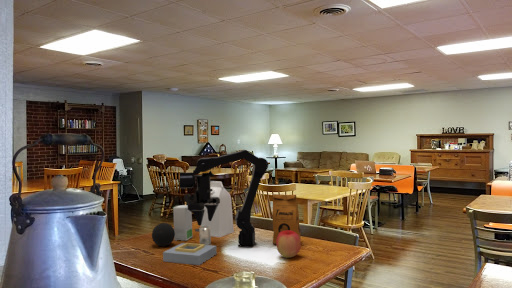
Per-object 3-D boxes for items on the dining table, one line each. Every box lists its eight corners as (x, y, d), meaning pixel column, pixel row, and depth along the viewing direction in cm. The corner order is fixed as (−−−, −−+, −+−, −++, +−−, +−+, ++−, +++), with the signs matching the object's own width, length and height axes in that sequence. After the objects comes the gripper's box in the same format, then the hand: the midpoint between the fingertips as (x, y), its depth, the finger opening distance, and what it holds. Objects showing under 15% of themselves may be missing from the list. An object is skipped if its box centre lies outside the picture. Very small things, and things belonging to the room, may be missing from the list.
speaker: (170, 241, 177) (169, 220, 177) (178, 246, 169) (177, 223, 168) (149, 245, 172) (148, 223, 172) (156, 250, 163) (155, 226, 163)
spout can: (212, 246, 166) (212, 226, 166) (207, 250, 162) (207, 228, 162) (198, 245, 169) (198, 225, 169) (193, 248, 164) (192, 227, 164)
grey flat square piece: (216, 254, 155) (216, 243, 155) (199, 265, 142) (199, 253, 142) (182, 251, 161) (182, 240, 161) (163, 261, 148) (162, 249, 148)
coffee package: (297, 248, 161) (296, 196, 161) (270, 245, 166) (268, 195, 165) (303, 242, 170) (302, 193, 170) (277, 240, 175) (275, 192, 175)
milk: (233, 232, 192) (232, 180, 192) (219, 237, 182) (218, 183, 182) (214, 229, 199) (213, 179, 198) (200, 234, 189) (199, 182, 189)
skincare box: (186, 241, 177) (185, 207, 177) (173, 240, 178) (172, 207, 178) (193, 236, 185) (192, 204, 185) (180, 236, 186) (179, 204, 186)
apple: (272, 255, 152) (271, 230, 152) (294, 252, 155) (293, 227, 155) (282, 262, 143) (282, 235, 143) (305, 258, 146) (304, 233, 146)
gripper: (198, 184, 176) (199, 218, 176) (175, 189, 159) (177, 227, 159) (219, 184, 172) (220, 219, 172) (199, 190, 155) (200, 228, 155)
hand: (204, 223), depth 165 cm, fingers open, 9 cm apart
